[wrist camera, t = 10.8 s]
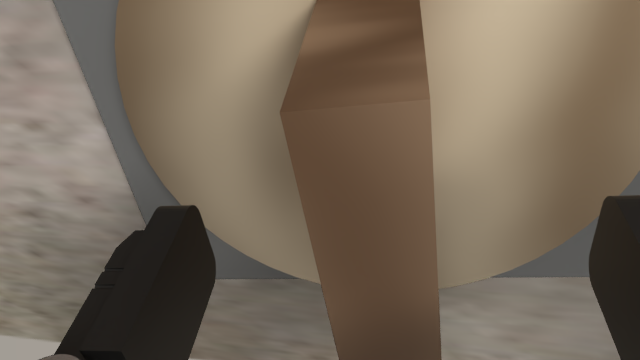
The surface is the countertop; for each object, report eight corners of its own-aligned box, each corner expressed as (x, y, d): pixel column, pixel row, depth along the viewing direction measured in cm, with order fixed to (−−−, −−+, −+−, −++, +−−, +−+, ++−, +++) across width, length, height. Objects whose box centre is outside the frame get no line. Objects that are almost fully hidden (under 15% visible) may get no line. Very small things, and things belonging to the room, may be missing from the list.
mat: (841, -333, 10) (864, -339, 9) (636, 264, 19) (643, 276, 19) (-15, -201, 13) (-30, -199, 12) (173, 268, 22) (168, 279, 22)
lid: (754, -301, 10) (1157, -374, 5) (614, 266, 19) (697, 454, 14) (32, -154, 12) (-217, -97, 7) (213, 277, 21) (156, 436, 16)
